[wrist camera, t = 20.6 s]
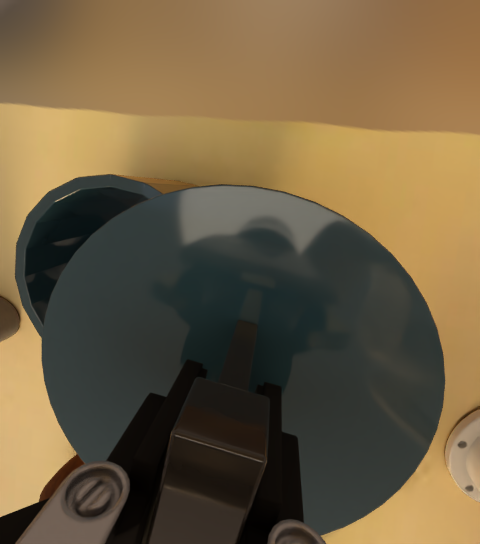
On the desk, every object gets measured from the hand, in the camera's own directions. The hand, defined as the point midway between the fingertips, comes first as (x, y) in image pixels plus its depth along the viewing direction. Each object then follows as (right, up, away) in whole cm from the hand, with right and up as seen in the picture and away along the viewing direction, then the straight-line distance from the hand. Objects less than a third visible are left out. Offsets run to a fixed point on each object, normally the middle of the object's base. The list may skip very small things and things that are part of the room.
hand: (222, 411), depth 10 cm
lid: (0, 0, +1) cm, 1 cm away
